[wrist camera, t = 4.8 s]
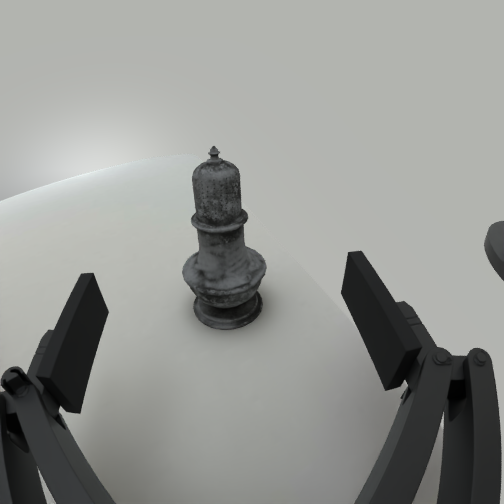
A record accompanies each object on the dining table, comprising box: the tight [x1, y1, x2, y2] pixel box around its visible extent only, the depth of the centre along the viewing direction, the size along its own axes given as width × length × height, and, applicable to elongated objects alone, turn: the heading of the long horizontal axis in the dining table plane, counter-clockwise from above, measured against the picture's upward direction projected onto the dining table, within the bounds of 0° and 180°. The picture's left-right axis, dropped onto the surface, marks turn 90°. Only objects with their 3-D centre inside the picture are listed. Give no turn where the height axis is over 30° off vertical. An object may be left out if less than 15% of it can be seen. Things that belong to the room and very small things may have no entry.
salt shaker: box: [182, 146, 266, 329], centre depth 20 cm, size 6×6×12 cm
